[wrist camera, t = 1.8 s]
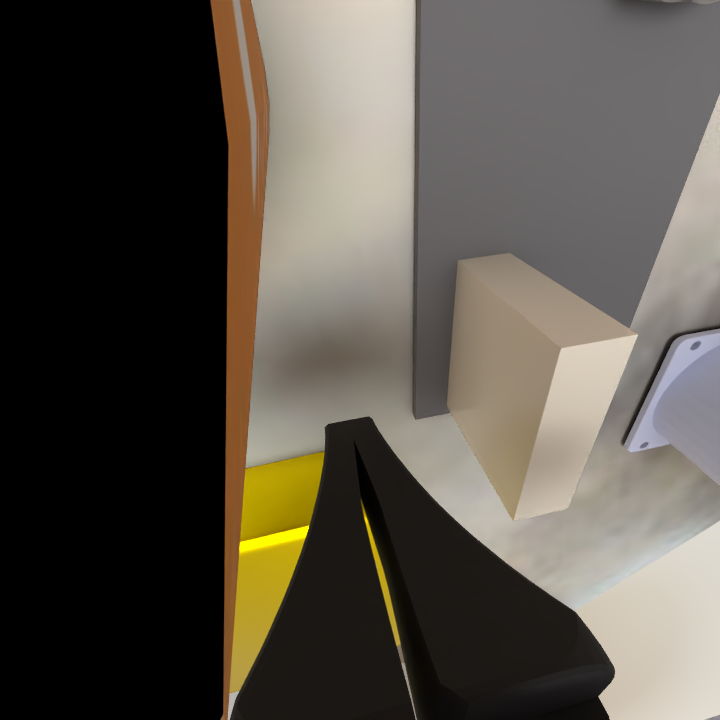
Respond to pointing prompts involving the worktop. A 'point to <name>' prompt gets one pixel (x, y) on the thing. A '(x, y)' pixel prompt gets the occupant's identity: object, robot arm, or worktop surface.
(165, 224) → the canister
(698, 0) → the figurine
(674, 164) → the mat
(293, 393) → the worktop surface
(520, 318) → the tile
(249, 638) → the element tile
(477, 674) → the robot arm
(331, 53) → the worktop surface
